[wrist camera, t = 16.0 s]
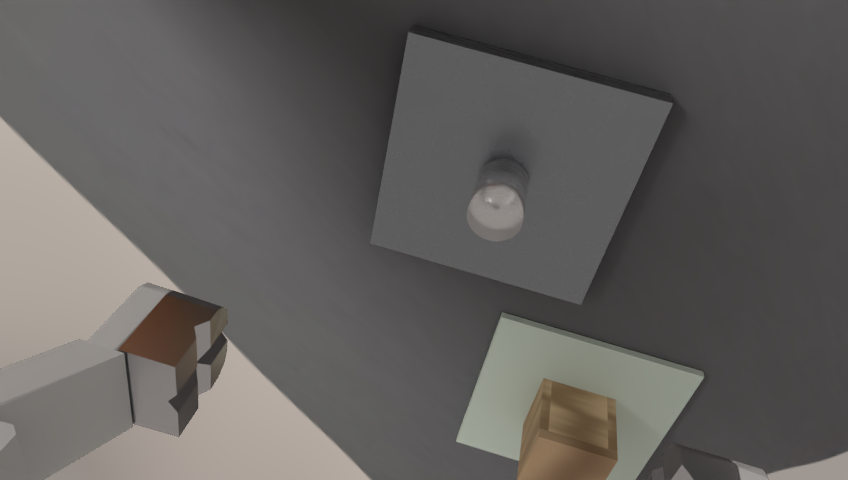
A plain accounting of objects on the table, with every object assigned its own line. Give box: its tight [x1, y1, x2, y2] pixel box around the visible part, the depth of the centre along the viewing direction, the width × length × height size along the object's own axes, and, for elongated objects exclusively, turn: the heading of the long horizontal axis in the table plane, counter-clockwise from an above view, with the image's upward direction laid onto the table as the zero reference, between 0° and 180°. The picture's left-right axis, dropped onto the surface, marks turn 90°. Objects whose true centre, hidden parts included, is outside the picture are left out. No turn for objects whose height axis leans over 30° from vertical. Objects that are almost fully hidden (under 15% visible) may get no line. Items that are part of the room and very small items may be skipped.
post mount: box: [370, 25, 673, 305], centre depth 41 cm, size 16×16×6 cm
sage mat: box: [456, 312, 704, 480], centre depth 54 cm, size 16×16×1 cm
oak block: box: [517, 378, 618, 480], centre depth 52 cm, size 6×6×6 cm
